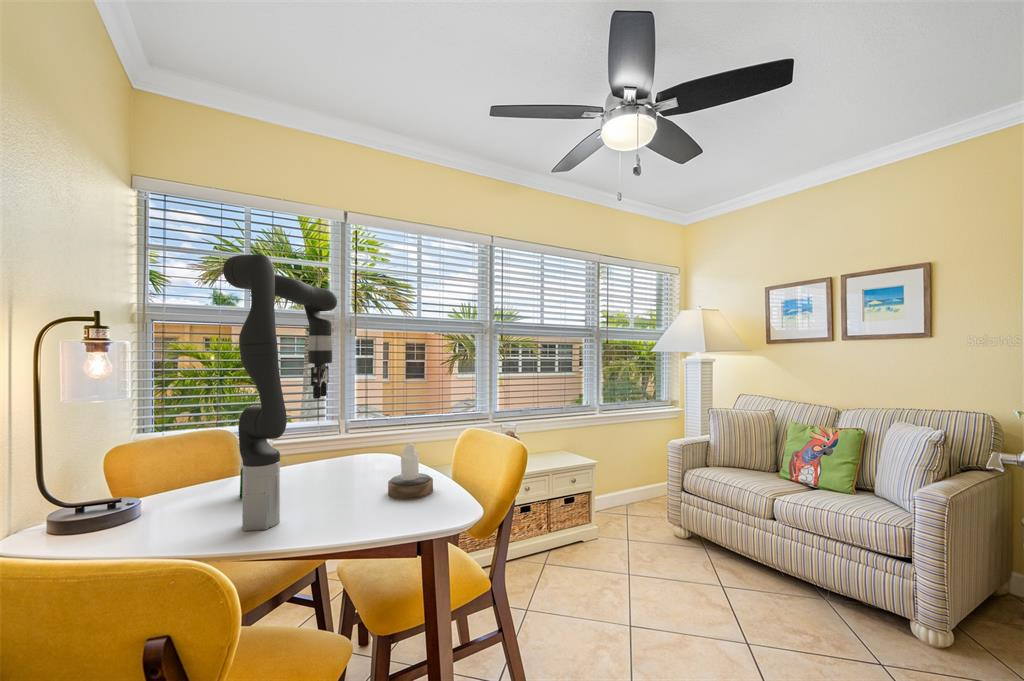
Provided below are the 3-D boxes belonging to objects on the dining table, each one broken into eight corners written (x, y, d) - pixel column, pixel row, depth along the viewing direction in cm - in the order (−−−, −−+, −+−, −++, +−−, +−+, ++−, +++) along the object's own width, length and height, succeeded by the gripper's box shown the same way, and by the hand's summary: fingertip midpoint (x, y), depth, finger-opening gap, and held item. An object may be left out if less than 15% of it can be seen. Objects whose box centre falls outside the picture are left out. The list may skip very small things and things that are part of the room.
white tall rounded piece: (402, 445, 153) (399, 442, 158) (402, 481, 153) (399, 477, 158) (420, 443, 156) (416, 440, 161) (420, 479, 155) (416, 475, 160)
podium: (432, 497, 150) (432, 483, 150) (386, 500, 148) (386, 485, 148) (432, 484, 165) (432, 471, 165) (390, 487, 163) (390, 473, 163)
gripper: (327, 349, 148) (327, 399, 148) (336, 349, 162) (336, 395, 162) (302, 349, 147) (302, 399, 146) (314, 349, 161) (313, 395, 161)
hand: (320, 397), depth 154 cm, fingers open, 8 cm apart
